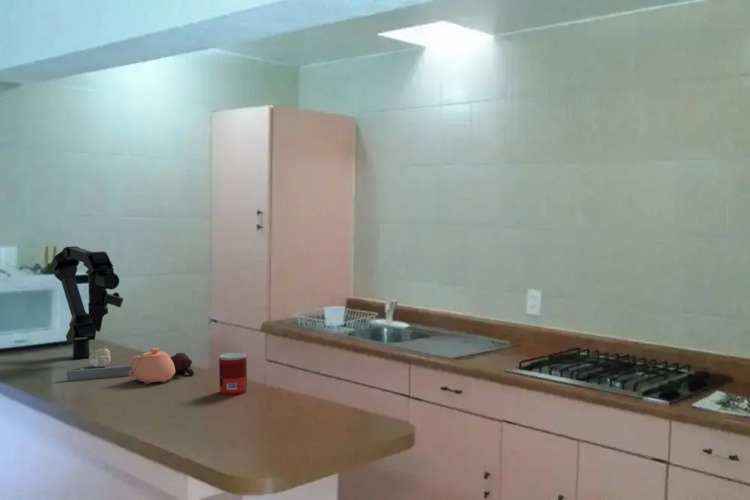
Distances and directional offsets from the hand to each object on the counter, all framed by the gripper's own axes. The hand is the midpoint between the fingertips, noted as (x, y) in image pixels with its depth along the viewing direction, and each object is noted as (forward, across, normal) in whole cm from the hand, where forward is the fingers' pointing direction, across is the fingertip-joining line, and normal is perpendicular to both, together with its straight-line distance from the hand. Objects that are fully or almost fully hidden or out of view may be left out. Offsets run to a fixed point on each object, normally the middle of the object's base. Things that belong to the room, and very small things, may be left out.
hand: (98, 331), depth 257 cm
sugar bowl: (+11, -36, -15) cm, 41 cm away
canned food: (+11, -60, -36) cm, 71 cm away
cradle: (+11, -23, 0) cm, 25 cm away
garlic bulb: (+11, -8, 0) cm, 14 cm away
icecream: (+11, -28, -24) cm, 39 cm away
